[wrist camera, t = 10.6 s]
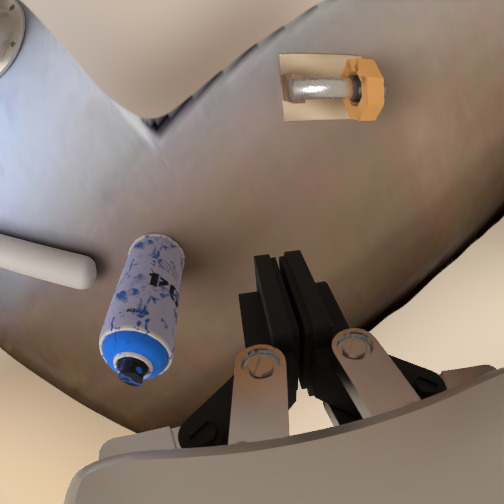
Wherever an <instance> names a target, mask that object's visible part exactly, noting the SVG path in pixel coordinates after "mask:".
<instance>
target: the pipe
mask: <svg viewBox="0 0 504 504" xmlns="http://www.w3.org/2000/svg"><path fill="white" fill-rule="evenodd" d="M289 94H290V98H291V100H297V99H305V100H325V99H344V100H351V101H352V102H360V100H361V98H362V90H361V81H360V79H359V76H358V75H351V76H350V77H349V78H345V77H304V78H291V77H290V79H289ZM386 94H387V88H386V84H385V82H384V99H385V98H386Z"/></svg>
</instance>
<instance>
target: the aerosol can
mask: <svg viewBox="0 0 504 504" xmlns="http://www.w3.org/2000/svg"><path fill="white" fill-rule="evenodd" d="M184 263H185V256H184V253H183V250H182V248H181V247H180V245H179V244H178V243H177V242H176V241H175V240H173V239H172V238H171V237H169V236H166V235H164V234H159V233H150V234H145V235H142V236H141V237H139V238H137V239H136V240H135V241H134V242H133V244H132V245H131V247H130V250H129V253H128V258H127V261H126V263H125V266H124V268H123V271H122V274H121V276H120V279H119V282H118V284H117V287H116V290H115V292H114V295H113V298H112V301H111V304H110V307H109V309H108V312H107V315H106V318H105V321H104V324H103V327H102V331H101V334H100V338H99V348H100V352H101V355H102V357H103V358H104V360H105V361H106V362H107V363H108V365H109V366H110V367H111V368H112V369H113V370H114V371H115V372H116V373H118V374H119V378H120V380H122V381H123V382H124V383H126V384H128V385H131V386H140V385H141V384H142V382H143V380H146V379H151V378H153V377H156V376H157V375H159V374H162V373H163V372H164V371H166V370H167V369H168V368H169V366H170V364H171V362H172V359H173V357H174V349H175V337H176V326H177V315H178V305H179V296H180V286H181V277H182V270H183V268H184Z"/></svg>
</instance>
